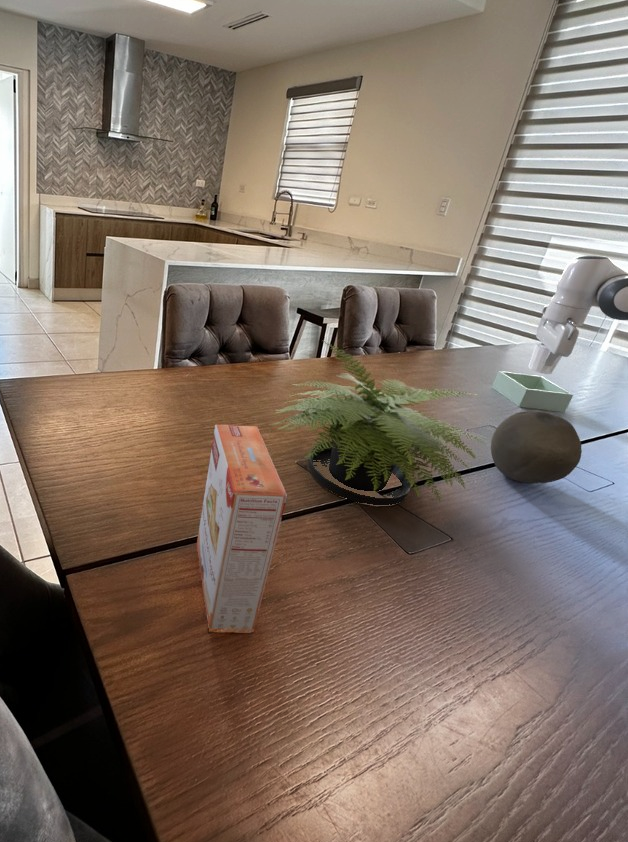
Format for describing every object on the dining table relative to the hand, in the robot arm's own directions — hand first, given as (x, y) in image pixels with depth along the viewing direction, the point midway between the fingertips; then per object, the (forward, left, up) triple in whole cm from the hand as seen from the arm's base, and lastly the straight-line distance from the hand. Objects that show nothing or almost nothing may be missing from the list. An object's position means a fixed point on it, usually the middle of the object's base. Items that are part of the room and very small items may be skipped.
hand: (543, 361), depth 134 cm
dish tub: (0, 0, -12) cm, 12 cm away
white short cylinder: (0, 0, -3) cm, 3 cm away
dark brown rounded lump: (+32, +46, -12) cm, 57 cm away
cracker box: (+95, +82, -12) cm, 126 cm away
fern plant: (+67, +52, -12) cm, 86 cm away
